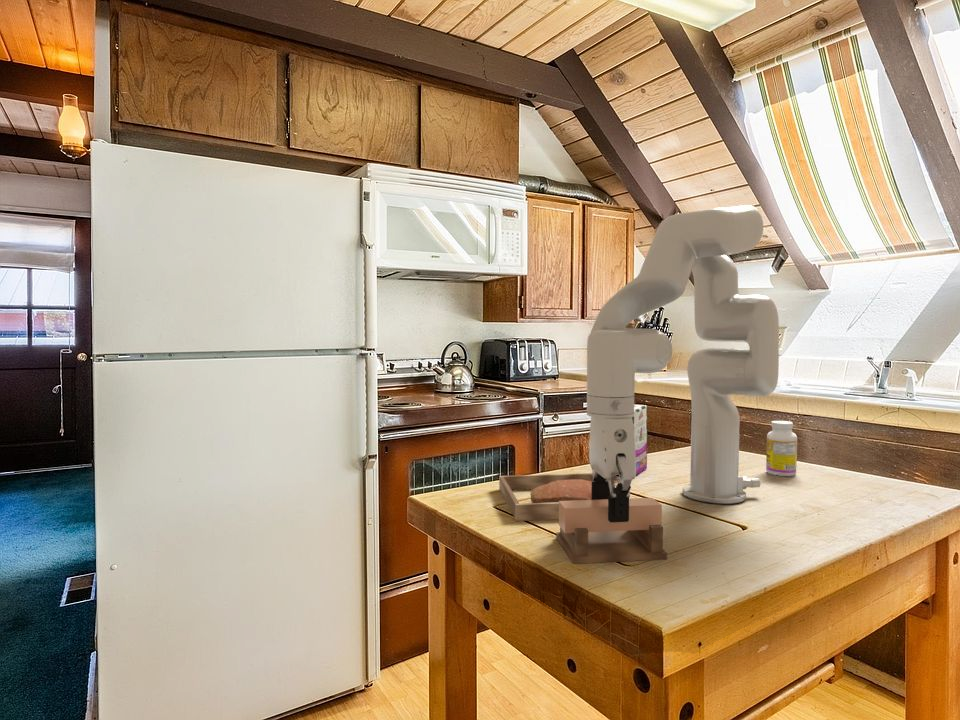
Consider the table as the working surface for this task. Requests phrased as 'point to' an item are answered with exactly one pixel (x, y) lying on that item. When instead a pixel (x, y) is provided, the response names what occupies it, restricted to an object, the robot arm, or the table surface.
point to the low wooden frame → (531, 482)
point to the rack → (613, 545)
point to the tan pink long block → (596, 515)
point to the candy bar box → (640, 437)
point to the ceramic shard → (562, 491)
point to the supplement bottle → (781, 449)
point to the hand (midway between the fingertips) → (609, 512)
